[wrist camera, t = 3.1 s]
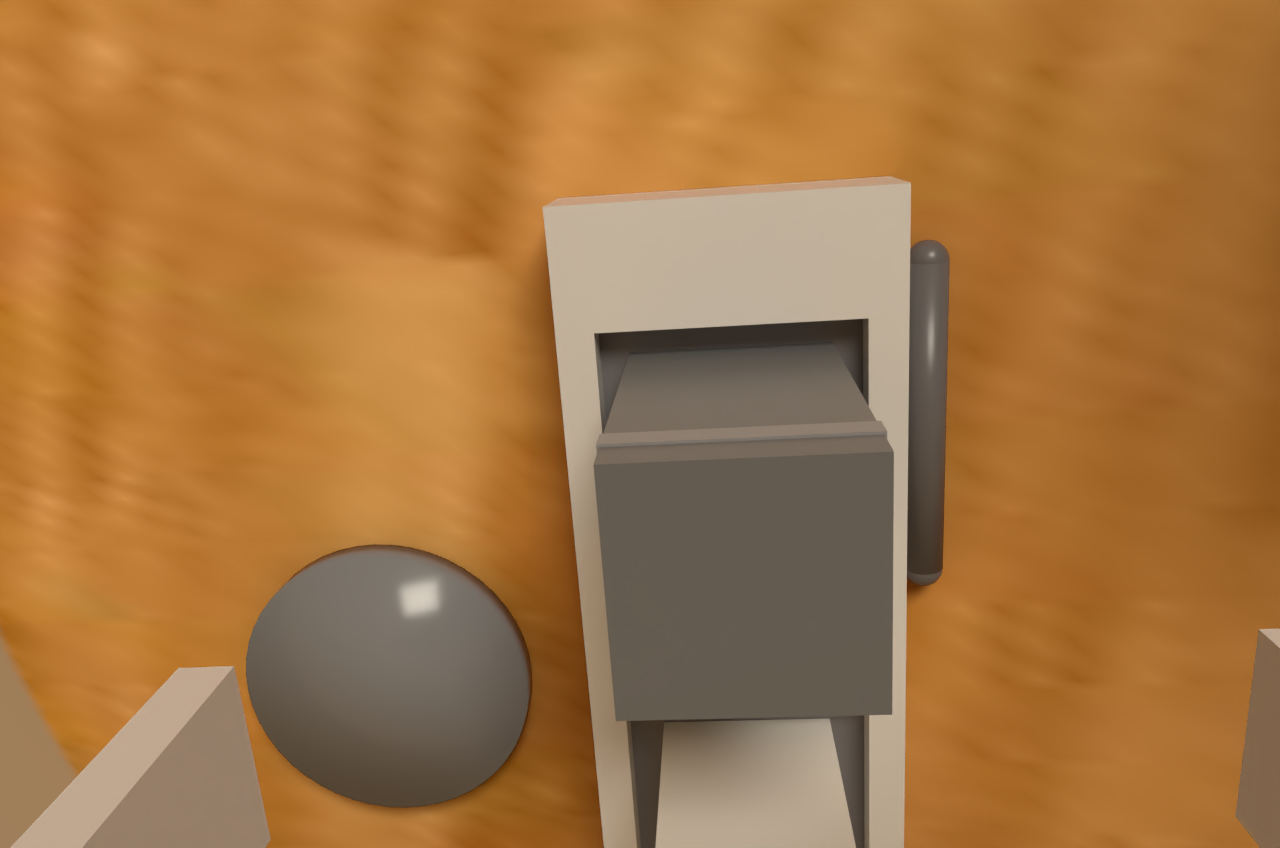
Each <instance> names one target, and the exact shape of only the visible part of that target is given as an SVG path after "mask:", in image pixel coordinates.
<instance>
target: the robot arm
mask: <svg viewBox="0 0 1280 848" xmlns="http://www.w3.org/2000/svg"><path fill="white" fill-rule="evenodd" d="M1236 817H1237V819H1238V820H1239V821H1240V822H1241V824H1242V825H1243V826H1244V828H1245V829H1246V830H1247V831H1248V833H1249V834H1250V835H1251V836H1252V838H1253V839H1254V840H1255V842H1256V843H1257V844H1258V845H1259V847H1260V848H1280V629H1259V631H1258V639H1257V648H1256V656H1255V664H1254V672H1253V680H1252V688H1251V696H1250V704H1249V712H1248V720H1247V728H1246V736H1245V745H1244V753H1243V761H1242V769H1241V777H1240V785H1239V793H1238V801H1237V809H1236ZM269 841H270V834H269V829H268V825H267V820H266V815H265V810H264V806H263V801H262V796H261V791H260V787H259V782H258V777H257V772H256V768H255V763H254V758H253V753H252V749H251V744H250V739H249V734H248V730H247V725H246V720H245V715H244V711H243V706H242V701H241V696H240V692H239V687H238V682H237V677H236V673H235V668H234V666H224V667H196V668H178V669H177V670H176V671H175V672H174V674H173V675H172V676H171V677H170V678H169V679H168V680H167V681H166V682H165V683H164V684H163V685H162V686H161V687H160V688H159V690H158V691H157V692H156V693H155V694H154V695H153V696H152V697H151V698H150V699H149V700H148V701H147V702H146V703H145V705H144V706H143V707H142V708H141V709H140V710H139V711H138V712H137V713H136V714H135V715H134V716H133V717H132V718H131V719H130V721H129V722H128V723H127V724H126V725H125V726H124V727H123V728H122V729H121V730H120V731H119V732H118V733H117V734H116V735H115V737H114V738H113V739H112V740H111V741H110V742H109V743H108V744H107V745H106V746H105V747H104V748H103V749H102V750H101V752H100V753H99V754H98V755H97V756H96V757H95V758H94V759H93V760H92V761H91V762H90V763H89V764H88V765H87V766H86V768H85V769H84V770H83V771H82V772H81V773H80V774H79V775H78V776H77V777H76V778H75V779H74V780H73V781H72V783H71V784H70V785H69V786H68V787H67V788H66V789H65V790H64V791H63V792H62V793H61V794H60V795H59V796H58V797H57V799H56V800H55V801H54V802H53V803H52V804H51V805H50V806H49V807H48V808H47V809H46V810H45V811H44V812H43V813H42V815H41V816H40V817H39V818H38V819H37V820H36V821H35V822H34V823H33V824H32V825H31V826H30V827H29V829H27V831H26V832H25V833H24V834H23V835H22V836H21V837H20V838H19V839H18V840H17V841H16V842H15V843H14V844H13V846H12V847H11V848H266V846H267V844H268V843H269Z"/></svg>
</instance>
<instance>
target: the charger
mask: <svg viewBox="0 0 1280 848" xmlns="http://www.w3.org/2000/svg"><path fill="white" fill-rule="evenodd" d="M596 451H597V455H596V458H595V461H594V464H593V466H594V478H595V489H596V500H597V512H598V523H599V535H600V546H601V558H602V569H603V581H604V592H605V604H606V615H607V626H608V638H609V649H610V661H611V672H612V684H613V695H614V707H615V718H616V721H645V720H688V719H732V718H775V717H818V716H861V715H892V681H893V518H894V451H893V449H892V447H891V445H890V444H889V442H888V440H887V430H886V428H885V426H884V425H883V423H882V421H877V420H876V419H875V417H874V415H873V413H872V412H871V410H870V408H869V406H868V404H867V403H866V401H865V399H864V397H863V395H862V394H861V392H860V390H859V388H858V387H857V385H856V383H855V381H854V379H853V378H852V376H851V374H850V372H849V370H848V369H847V367H846V365H845V363H844V362H843V360H842V358H841V356H840V354H839V353H838V351H837V349H836V347H835V345H834V344H833V342H822V343H803V344H784V345H765V346H747V347H728V348H709V349H690V350H671V351H652V352H634V353H629V356H628V359H627V362H626V365H625V368H624V371H623V374H622V377H621V381H620V384H619V387H618V390H617V393H616V396H615V399H614V402H613V405H612V408H611V412H610V415H609V418H608V421H607V424H606V427H605V430H604V433H603V434H599V437H598V440H597V443H596Z"/></svg>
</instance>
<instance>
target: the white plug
mask: <svg viewBox="0 0 1280 848" xmlns="http://www.w3.org/2000/svg"><path fill="white" fill-rule="evenodd" d="M655 848H856V845H855V840H854V835H853V830H852V825H851V820H850V816H849V811H848V806H847V801H846V796H845V791H844V786H843V781H842V777H841V772H840V767H839V762H838V757H837V752H836V747H835V743H834V738H833V733H832V728H831V723H830V719H789V720H745V721H702V722H664V731H663V745H662V760H661V774H660V789H659V803H658V818H657V832H656V847H655Z"/></svg>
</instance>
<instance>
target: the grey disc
mask: <svg viewBox="0 0 1280 848" xmlns="http://www.w3.org/2000/svg"><path fill="white" fill-rule="evenodd" d="M246 677H247V684H248V691H249V695H250V698H251V702H252V705H253V708H254V711H255V713H256V715H257V718H258V720H259V722H260V724H261V726H262V727H263V729H264V731H265V732H266V734H267V736H268V737H269V739H270V740H271V741H272V743H273V744H274V745H275V747H276V748H277V749H278V751H279V752H280V753H281V754H282V755H283V756H284V757H285V758H286V759H287V760H288V761H289V762H290V763H291V764H292V765H293V766H295V767H296V768H297V769H298V770H299V771H301V772H302V773H303V774H304V775H306V776H307V777H309V778H310V779H312V780H313V781H315V782H316V783H318V784H319V785H321V786H323V787H325V788H327V789H329V790H331V791H333V792H335V793H337V794H340V795H342V796H345V797H348V798H350V799H353V800H357V801H360V802H364V803H368V804H373V805H379V806H386V807H419V806H426V805H432V804H437V803H441V802H444V801H447V800H450V799H453V798H456V797H458V796H461V795H463V794H465V793H467V792H469V791H471V790H473V789H474V788H476V787H477V786H479V785H480V784H482V783H483V782H485V781H486V780H487V779H488V778H489V777H491V776H492V775H493V774H494V773H495V772H496V771H497V770H498V769H499V768H500V767H501V766H502V764H503V763H504V762H505V761H506V760H507V758H508V757H509V755H510V754H511V752H512V750H513V749H514V747H515V745H516V743H517V741H518V739H519V736H520V734H521V732H522V728H523V725H524V722H525V718H526V715H527V711H528V708H529V704H530V700H531V690H532V669H531V663H530V658H529V652H528V649H527V646H526V643H525V640H524V638H523V635H522V633H521V631H520V629H519V627H518V625H517V623H516V621H515V619H514V618H513V616H512V615H511V613H510V612H509V610H508V609H507V607H506V606H505V605H504V604H503V602H502V601H501V600H500V599H499V598H498V597H497V596H496V594H495V593H494V592H493V591H492V590H491V589H489V588H488V587H487V586H486V585H485V584H484V583H483V582H482V581H481V580H479V579H478V578H477V577H475V576H474V575H472V574H471V573H469V572H468V571H467V570H465V569H464V568H462V567H460V566H458V565H456V564H454V563H453V562H451V561H449V560H447V559H444V558H442V557H439V556H437V555H434V554H432V553H429V552H425V551H422V550H418V549H414V548H410V547H403V546H396V545H365V546H356V547H351V548H347V549H343V550H339V551H336V552H333V553H331V554H328V555H325V556H323V557H321V558H319V559H317V560H315V561H313V562H312V563H310V564H308V565H306V566H305V567H304V568H302V569H301V570H300V571H298V572H297V573H296V574H294V575H293V576H292V577H291V578H290V579H289V580H288V581H287V582H286V583H285V584H284V585H283V587H282V588H281V589H280V590H279V591H278V592H277V593H276V594H275V595H274V597H273V598H272V599H271V600H270V601H269V603H268V604H267V605H266V607H265V608H264V610H263V611H262V612H261V614H260V616H259V618H258V620H257V622H256V624H255V626H254V628H253V631H252V635H251V638H250V641H249V645H248V651H247V658H246Z"/></svg>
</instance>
